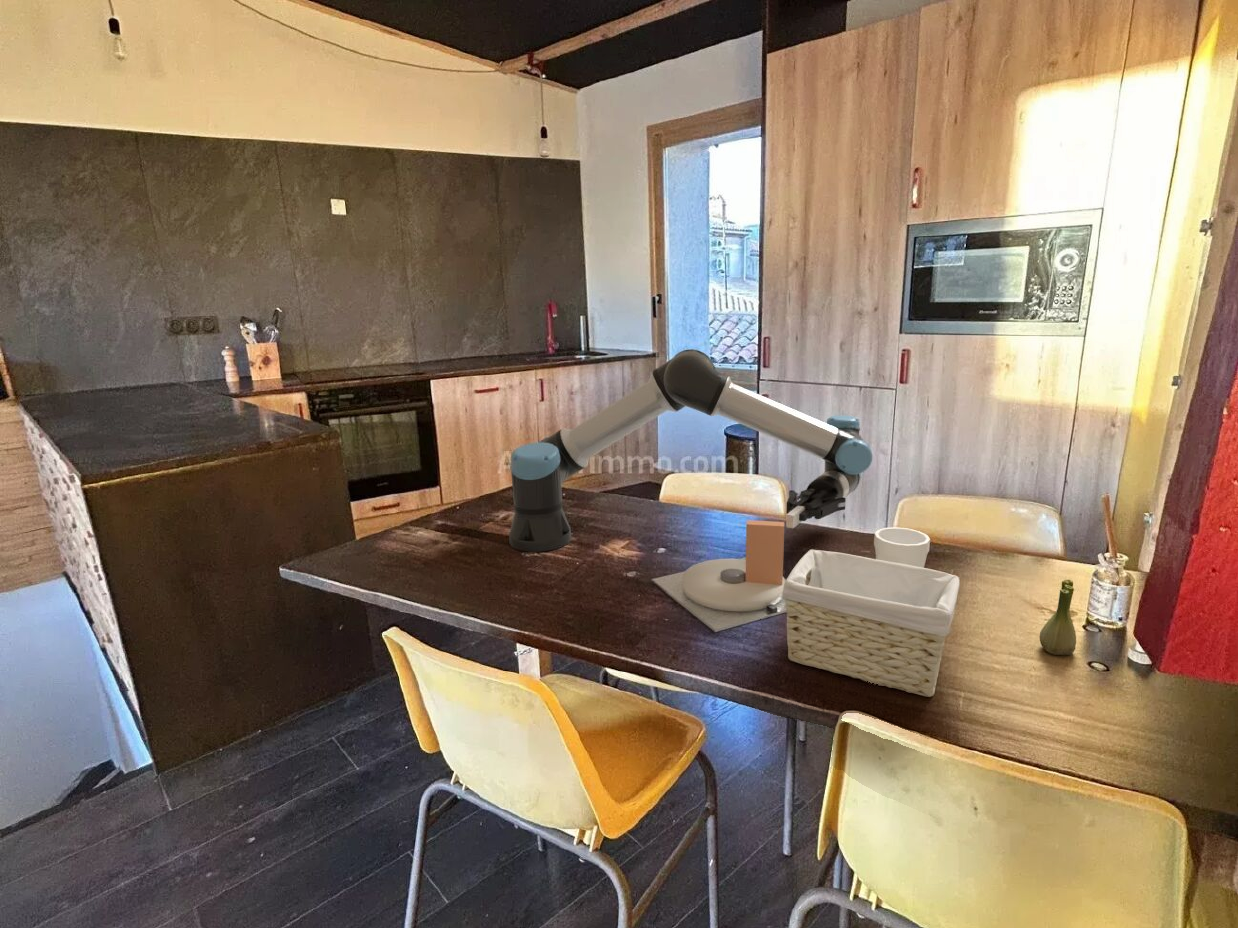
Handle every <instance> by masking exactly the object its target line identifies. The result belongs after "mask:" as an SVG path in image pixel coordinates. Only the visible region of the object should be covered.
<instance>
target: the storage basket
mask: <svg viewBox="0 0 1238 928" xmlns="http://www.w3.org/2000/svg"><path fill="white" fill-rule="evenodd" d="M959 589H960V577H958V576H957V575H955V574H950V573H948V572H944V571H940V570H935V569H931V568H926V567H924V568H922V567H917V566H912V565H906V564H900V563H894V562H888V561H883V560H877V559H876V558H871V557H870V558H869V557H865V556H860V555H855V554H850V553H845V552H844V553H843V552H837V551H829V550H828V551H827V550H820V549H819V550H818V549H817V550H816V549H809V550H808V551H807V552H806V553H805V554H804V555H803V556H802V557H801V558H800V559H799V561H798V562H797V563H796V564H795V566H794V567H793V569H792V570H791V571H790V573H789V575H788V577H787V578H786V581H785V583H784V589H783V597H784V598H785V599H786V612H785V613H786V621H787V622H786V629H787V630H786V640H787V641H786V642H787V647H788V648H787V652H788V653H787V654H788V655H787V657H788V659H789V660H790V661H792V662H794V663H797V664H801V665H804V666H809V667H813V668H817V669H819V670H821V669H822V670H825V671H829V672H831V673H834V674H838V675H839V674H840V675H845V676H848V677H851V678H853V679H860V680H861V681H864V682H867V681H868V682H867V683H869V682H870V683H869V684H872V683H874V684H873V685H876V684H878V685H877V686H883V687H884V686H885V687H887V688H890V689H892V688H893V689H896V690H901V691H905V692H906V693H910V694H915V695H918V696H922V697H928V698H930V697H933V696H934V695H935V691H936V686H937V681H938V677H939V672H940V671H939V670H940V667H941V663H942V653H943V648H944V645H945V643H946V642H945V641H946V637H947V636H948V635H949V634H950V632H951V625H952V623H953V622H952V621H953V619H954V616H955V614H954V613H955V611H956V605H957V601H958V595H959Z"/></svg>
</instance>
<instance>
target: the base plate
mask: <svg viewBox="0 0 1238 928" xmlns="http://www.w3.org/2000/svg"><path fill="white" fill-rule="evenodd" d="M740 559H743V560H746V556H745V557H741V558H740ZM684 572H685V571H682V572H677V573H673V574H668V575H664V576H660V577H655V578H651V582H652V583H653V584H654V585H655V586H656V587H658V588H659V589H661V590H662V591H663V592H664V593H666V594H667V595H668V596H669V597H670V598H671V599H673V600H674V601H675V602H677V603H678V604H679V605H680V606H682V607H683V608H684V609H686V610H687V611H688V612H689V613H690V614H692V615H693V616H694V617H695V618H697V619H698V620H699V621H700V622H702V623H703V624H704V625H706V626H707V627H708V628H710V629H711V630H712V631H713V632H714V633H717V632H721V631H725V630H728V629H731V628H736V627H738V626H742V625H745V624H746V625H747V624H750V623H754V622H757V621H760V619H761V620H764V619H767V618H771V617H775V616H778V615H782V614H785V613H787V612H786V599H785V598H784V597H783V598H782V599H781V600H780V601H779V602H777V603H776V604H774V605H772V604H771V605H768V606H767V607H766V608H763V609H758V610H752V611H725V610H718V609H713V608H709V607H706V606H703V605H701V604H698V603H696V602H694V601H693V600H691V599H690V598H688V597H687V596H686V594H685V593H684V591H683V574H684ZM784 579H785V581H786V580H787V578H784Z"/></svg>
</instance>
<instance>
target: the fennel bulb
mask: <svg viewBox="0 0 1238 928" xmlns="http://www.w3.org/2000/svg"><path fill="white" fill-rule="evenodd" d="M1074 591H1075V588H1074V581H1073V580H1071V579H1066V578H1065V579H1064V580H1062V581H1061V588H1060V590H1059V595H1058V597H1059V598H1058V604H1057V608H1056V611H1055V612H1054V614H1053V615H1052V616H1051V617H1050V618H1049V619H1048V620H1047V622H1046V623H1044V625H1043V627H1042V628H1041V630H1040V633H1039V642H1040V645H1041V647H1042V648H1043V650H1044V651H1045V652H1047V653H1048V654H1051V655H1054V656H1069V655H1071V654H1073V653H1074V652H1075V651H1076V645H1077V634H1076V633H1077V632H1076V630H1075V629H1076V628H1075V626H1074V625H1075V624H1074V623H1073V620H1072V616H1071V612H1070V611H1071V604H1072V599H1073V595H1074Z"/></svg>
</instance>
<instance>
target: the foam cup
mask: <svg viewBox="0 0 1238 928" xmlns="http://www.w3.org/2000/svg"><path fill="white" fill-rule="evenodd" d="M930 544H931V538H930V537H929V535H928V534H926V533H924V532H923V531H922V532H921V531H919V530H917V529H916V530H915V529H912V528H906V527H897V526H896V527H893V526H892V527H883V528H879V529H877V531H875V532H874V539H873V547H874V550H875V559H877V560H883V561H888V562H894V563H900V564H906V565H912V566H917V567H922V568H925V565H926V560H927V556H928V553H929V552H930Z"/></svg>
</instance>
